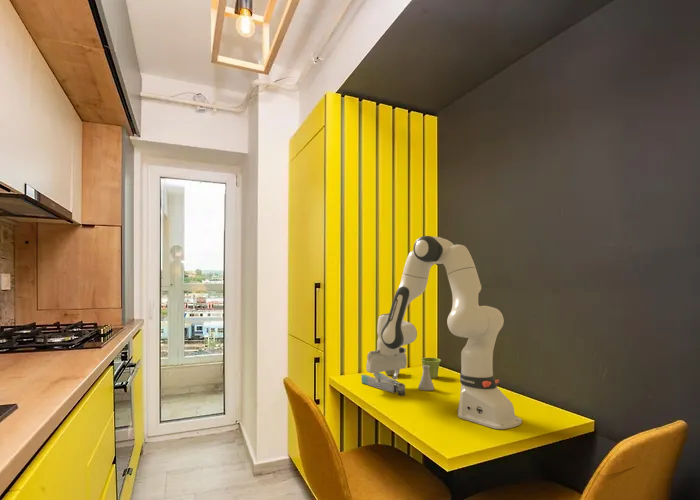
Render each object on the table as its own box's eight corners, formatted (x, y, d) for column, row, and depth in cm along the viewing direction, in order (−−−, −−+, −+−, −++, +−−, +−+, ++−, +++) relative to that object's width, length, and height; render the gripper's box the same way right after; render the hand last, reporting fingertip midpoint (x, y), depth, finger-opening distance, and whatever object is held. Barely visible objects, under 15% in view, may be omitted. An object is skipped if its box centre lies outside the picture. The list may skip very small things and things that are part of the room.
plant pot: (440, 380, 188) (440, 362, 189) (420, 378, 191) (420, 360, 191) (441, 375, 197) (441, 358, 198) (422, 374, 200) (422, 357, 200)
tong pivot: (406, 394, 165) (406, 383, 165) (400, 396, 163) (400, 384, 163) (401, 393, 167) (401, 382, 168) (395, 394, 166) (395, 383, 166)
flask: (433, 386, 177) (433, 364, 178) (435, 391, 170) (435, 368, 170) (417, 386, 178) (417, 364, 178) (418, 391, 170) (418, 367, 171)
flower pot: (377, 374, 199) (377, 360, 199) (390, 371, 206) (390, 357, 206) (392, 378, 192) (392, 363, 192) (405, 374, 198) (405, 360, 199)
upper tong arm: (396, 392, 167) (396, 384, 167) (393, 393, 166) (393, 385, 166) (364, 382, 183) (364, 374, 183) (361, 382, 182) (361, 375, 182)
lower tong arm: (402, 391, 168) (402, 383, 168) (398, 392, 168) (398, 383, 168) (379, 379, 187) (379, 372, 188) (376, 380, 187) (376, 372, 187)
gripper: (371, 352, 167) (371, 385, 166) (408, 348, 178) (408, 379, 177) (363, 350, 172) (363, 381, 172) (400, 346, 183) (400, 375, 182)
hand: (386, 380), depth 174 cm, fingers open, 8 cm apart
